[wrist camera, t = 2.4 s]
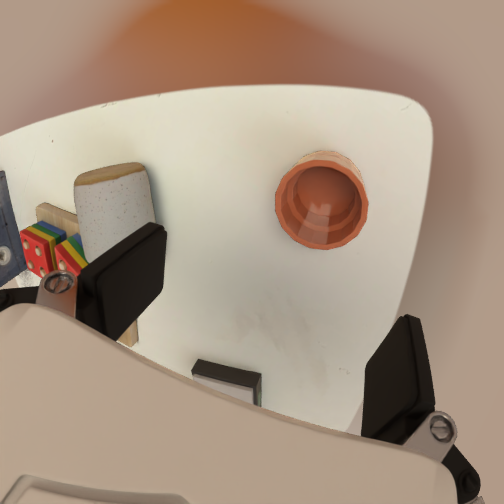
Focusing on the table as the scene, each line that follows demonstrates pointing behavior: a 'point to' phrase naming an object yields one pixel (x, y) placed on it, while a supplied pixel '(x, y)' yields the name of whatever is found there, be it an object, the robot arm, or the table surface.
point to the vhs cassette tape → (9, 238)
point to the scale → (229, 381)
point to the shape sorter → (59, 249)
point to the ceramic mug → (111, 205)
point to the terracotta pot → (322, 201)
